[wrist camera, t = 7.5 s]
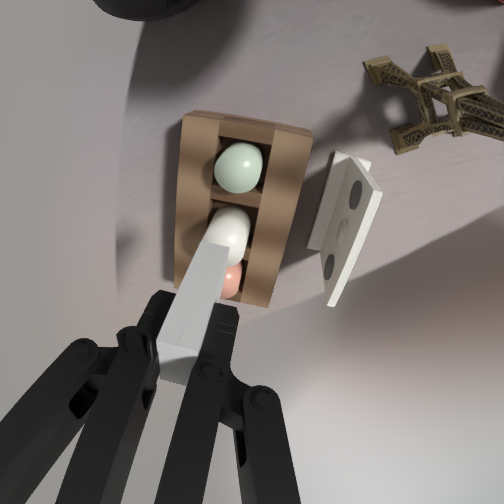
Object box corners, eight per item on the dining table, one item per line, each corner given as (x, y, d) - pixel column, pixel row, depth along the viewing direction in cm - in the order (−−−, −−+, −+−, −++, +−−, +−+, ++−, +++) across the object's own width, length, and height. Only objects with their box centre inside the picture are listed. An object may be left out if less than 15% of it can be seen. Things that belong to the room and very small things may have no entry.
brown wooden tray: (195, 109, 28) (183, 115, 25) (310, 130, 28) (313, 138, 25) (182, 268, 40) (173, 287, 37) (270, 287, 40) (267, 307, 37)
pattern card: (335, 150, 29) (354, 184, 21) (370, 160, 29) (400, 198, 21) (306, 245, 36) (310, 302, 27) (337, 252, 36) (349, 309, 27)
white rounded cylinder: (214, 202, 30) (202, 225, 26) (253, 209, 30) (247, 235, 26) (211, 235, 32) (199, 262, 28) (247, 242, 32) (240, 271, 28)
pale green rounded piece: (228, 135, 28) (217, 146, 24) (267, 142, 28) (263, 155, 24) (222, 171, 30) (211, 188, 26) (260, 178, 30) (255, 197, 26)
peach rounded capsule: (213, 242, 36) (203, 267, 31) (246, 249, 36) (240, 275, 31) (210, 268, 38) (201, 294, 34) (241, 274, 38) (235, 301, 34)
